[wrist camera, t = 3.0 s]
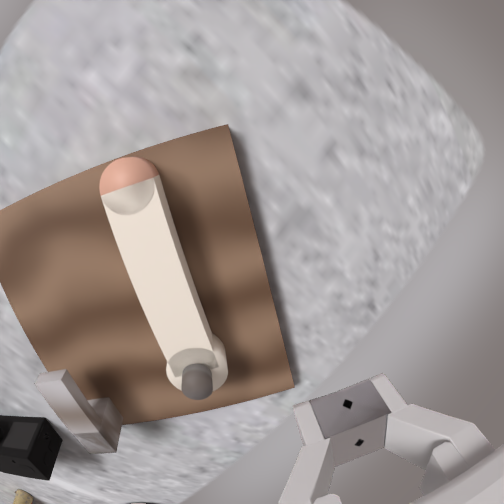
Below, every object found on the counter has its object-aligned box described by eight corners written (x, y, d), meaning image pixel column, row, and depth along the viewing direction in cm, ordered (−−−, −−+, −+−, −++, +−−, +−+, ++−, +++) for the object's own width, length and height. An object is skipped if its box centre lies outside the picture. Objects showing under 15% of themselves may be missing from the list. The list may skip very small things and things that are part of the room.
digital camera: (41, 409, 27) (22, 452, 20) (63, 439, 29) (49, 481, 22) (-12, 407, 26) (-32, 442, 20) (9, 435, 28) (-7, 470, 21)
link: (232, 367, 26) (235, 386, 23) (180, 379, 25) (179, 399, 23) (160, 147, 20) (154, 146, 17) (97, 169, 19) (84, 171, 17)
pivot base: (290, 377, 29) (308, 422, 23) (91, 418, 28) (79, 460, 22) (226, 126, 21) (233, 116, 16) (-13, 218, 20) (-56, 238, 14)
